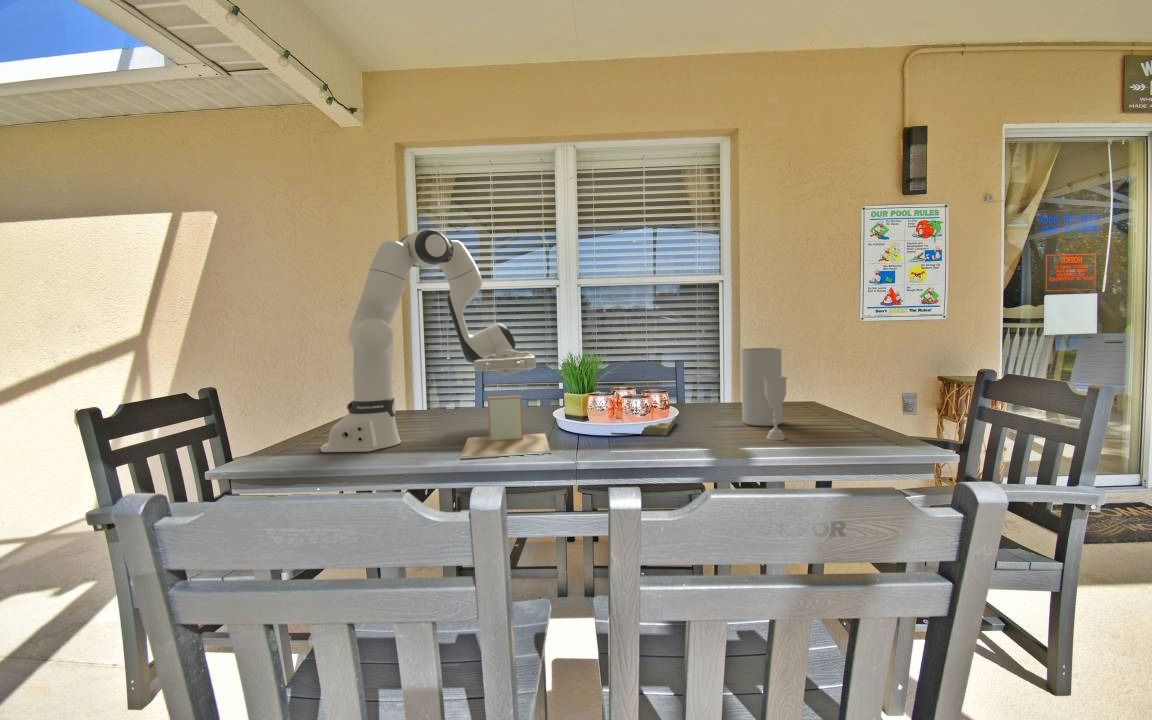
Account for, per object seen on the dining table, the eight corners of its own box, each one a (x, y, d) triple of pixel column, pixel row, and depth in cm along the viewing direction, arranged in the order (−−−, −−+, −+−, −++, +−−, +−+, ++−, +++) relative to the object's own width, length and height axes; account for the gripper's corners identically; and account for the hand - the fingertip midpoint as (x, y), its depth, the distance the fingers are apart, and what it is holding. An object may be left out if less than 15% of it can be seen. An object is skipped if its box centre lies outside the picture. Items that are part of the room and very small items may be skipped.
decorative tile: (676, 424, 175) (675, 414, 175) (667, 437, 156) (666, 425, 156) (623, 423, 181) (623, 413, 181) (608, 435, 162) (608, 424, 162)
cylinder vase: (738, 420, 177) (737, 348, 175) (775, 419, 176) (775, 347, 174) (747, 427, 165) (746, 350, 163) (787, 426, 163) (786, 349, 162)
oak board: (460, 460, 134) (459, 456, 134) (468, 440, 158) (468, 437, 158) (550, 454, 137) (550, 451, 137) (545, 436, 160) (545, 433, 160)
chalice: (761, 435, 152) (760, 375, 151) (785, 435, 150) (785, 375, 149) (765, 440, 145) (764, 378, 144) (790, 441, 143) (790, 377, 142)
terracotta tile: (489, 441, 151) (487, 398, 150) (490, 439, 154) (488, 397, 153) (523, 439, 152) (521, 396, 151) (523, 437, 155) (521, 395, 154)
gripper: (474, 354, 173) (470, 357, 159) (534, 351, 175) (535, 353, 161) (475, 373, 173) (471, 377, 160) (535, 369, 175) (536, 373, 162)
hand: (504, 365), depth 160 cm, fingers open, 8 cm apart
